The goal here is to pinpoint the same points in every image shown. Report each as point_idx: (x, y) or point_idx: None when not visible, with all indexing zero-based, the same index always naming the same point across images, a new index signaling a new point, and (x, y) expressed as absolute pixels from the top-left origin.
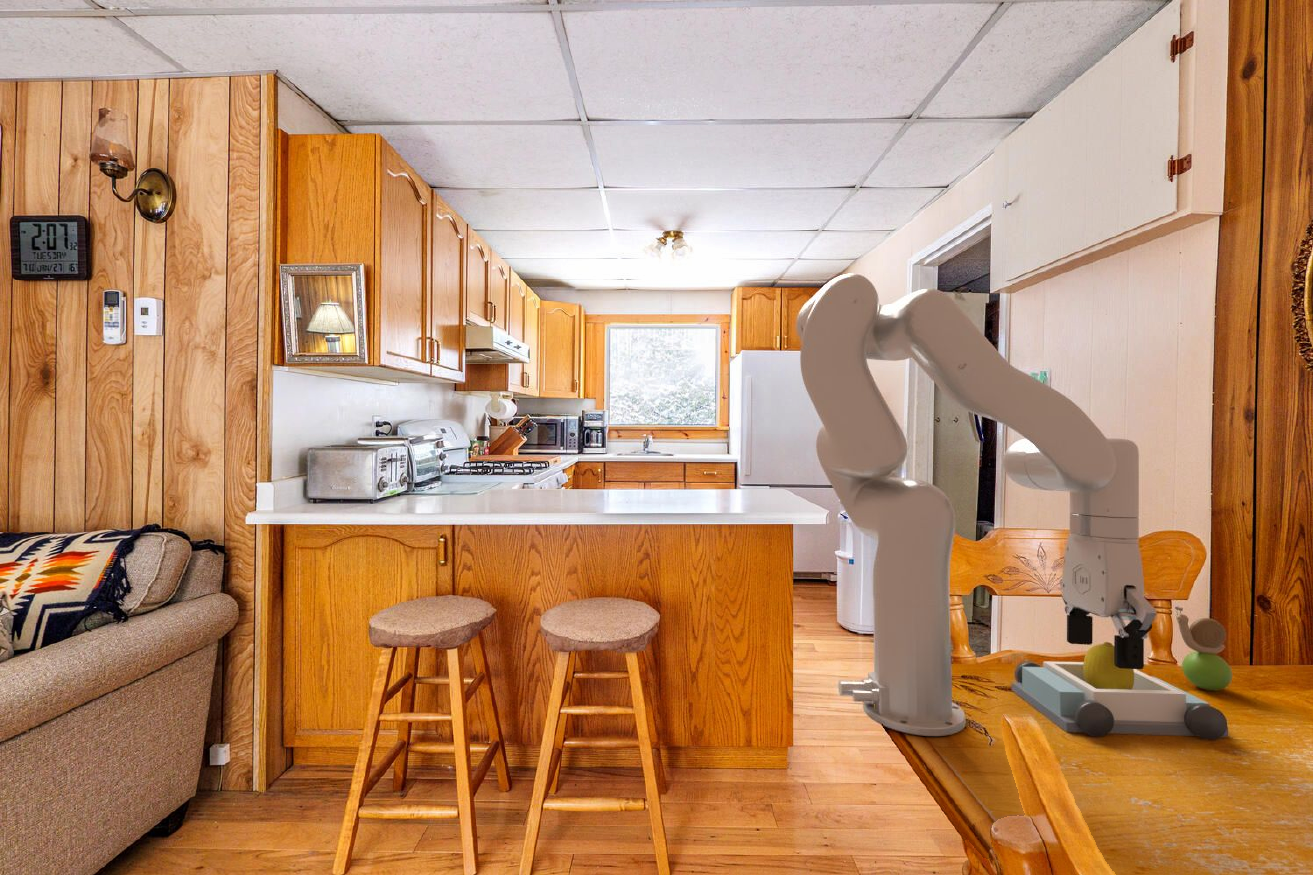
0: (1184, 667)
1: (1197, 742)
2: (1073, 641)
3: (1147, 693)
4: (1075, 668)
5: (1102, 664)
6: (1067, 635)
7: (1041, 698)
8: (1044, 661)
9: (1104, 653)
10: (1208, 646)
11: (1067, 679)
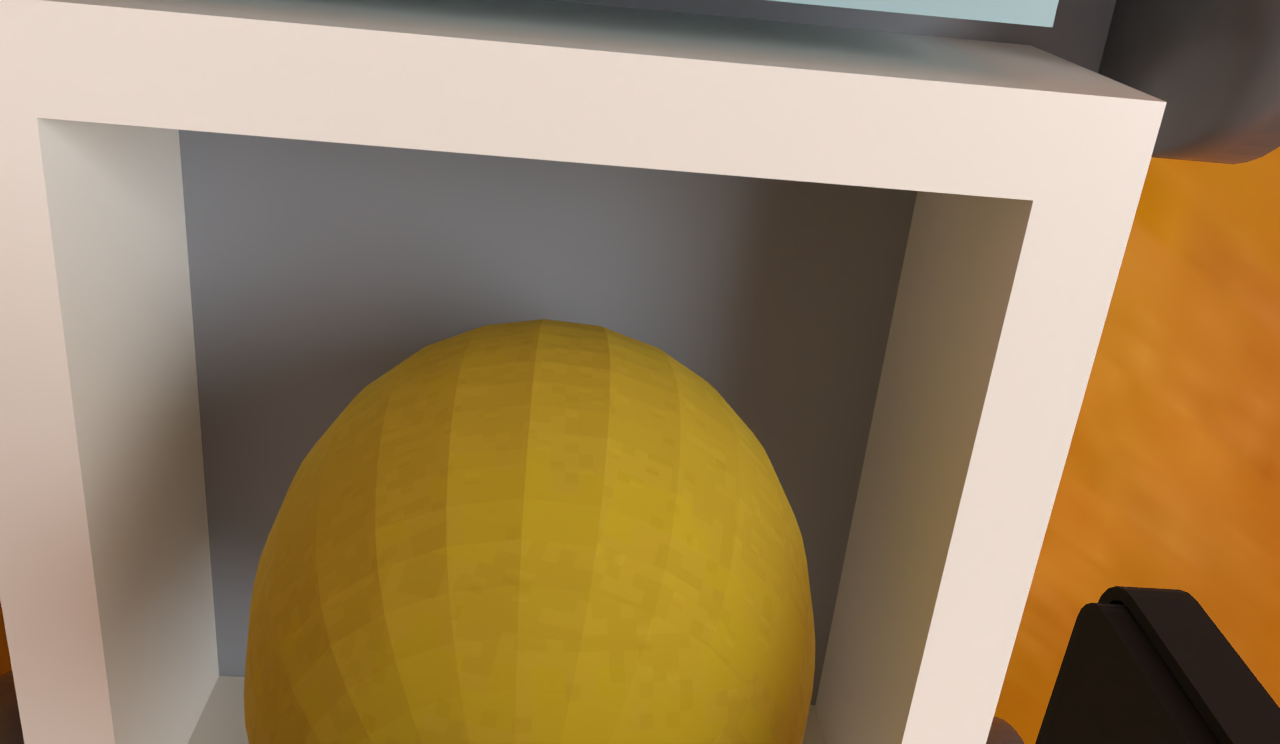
0: None
1: None
2: (1090, 648)
3: (3, 616)
4: (953, 441)
5: (326, 525)
6: (1223, 659)
7: None
8: (1153, 115)
9: (360, 695)
10: None
11: (537, 34)
